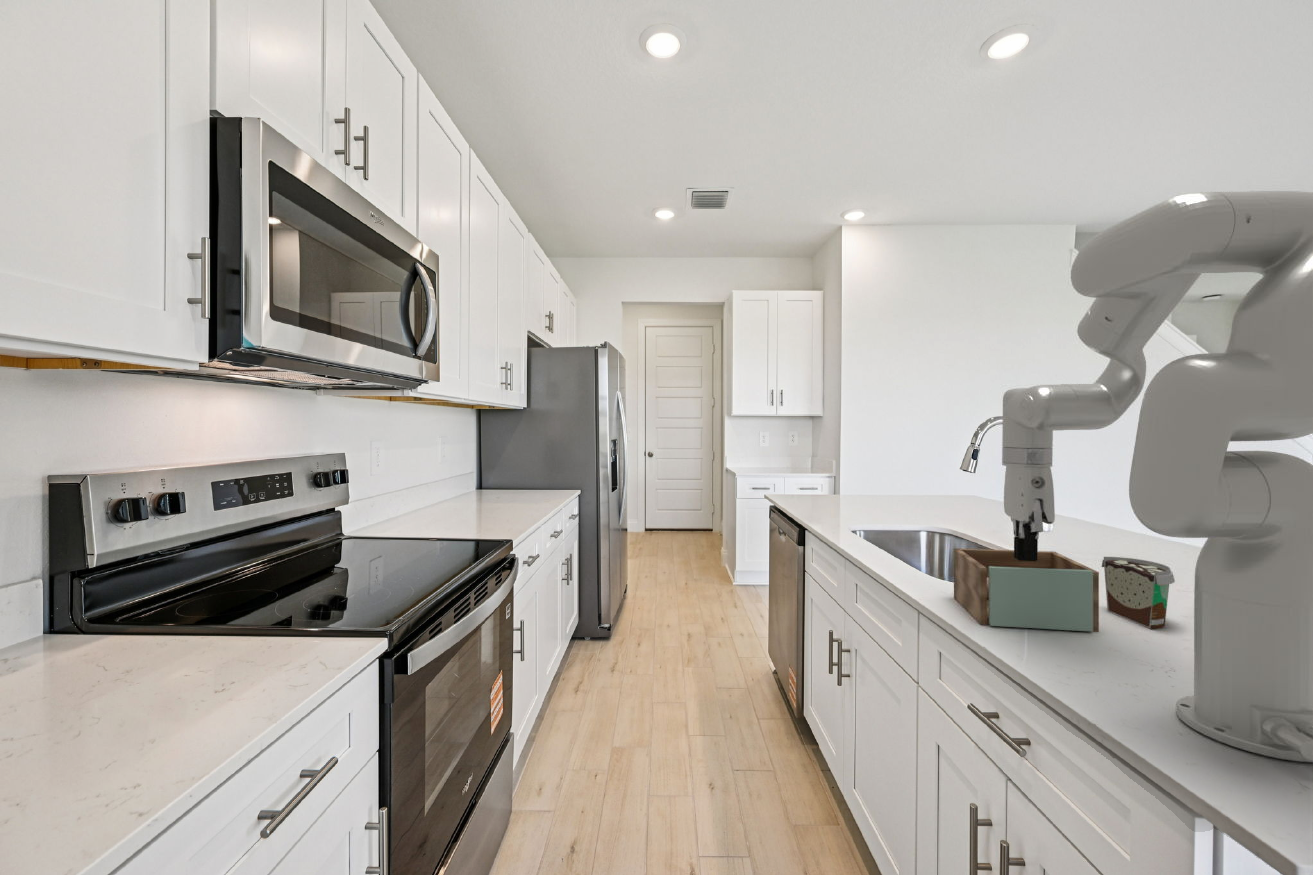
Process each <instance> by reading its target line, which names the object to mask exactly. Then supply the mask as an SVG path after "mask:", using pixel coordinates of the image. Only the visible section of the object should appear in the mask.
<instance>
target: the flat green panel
mask: <svg viewBox="0 0 1313 875" xmlns="http://www.w3.org/2000/svg"><path fill="white" fill-rule="evenodd" d="M989 624H990V625H989V626H990V627H1007V628H1008V627H1010V628H1011V627H1013V628H1023V629H1025V628H1027V629H1042V630H1043V629H1045V630H1058V631H1059V630H1061V631H1063V630H1064V631H1078V632H1079V631H1080V632H1094V631H1093V571H1091V570H1074V569H1046V568H1019V567H991V566H989Z"/></svg>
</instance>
